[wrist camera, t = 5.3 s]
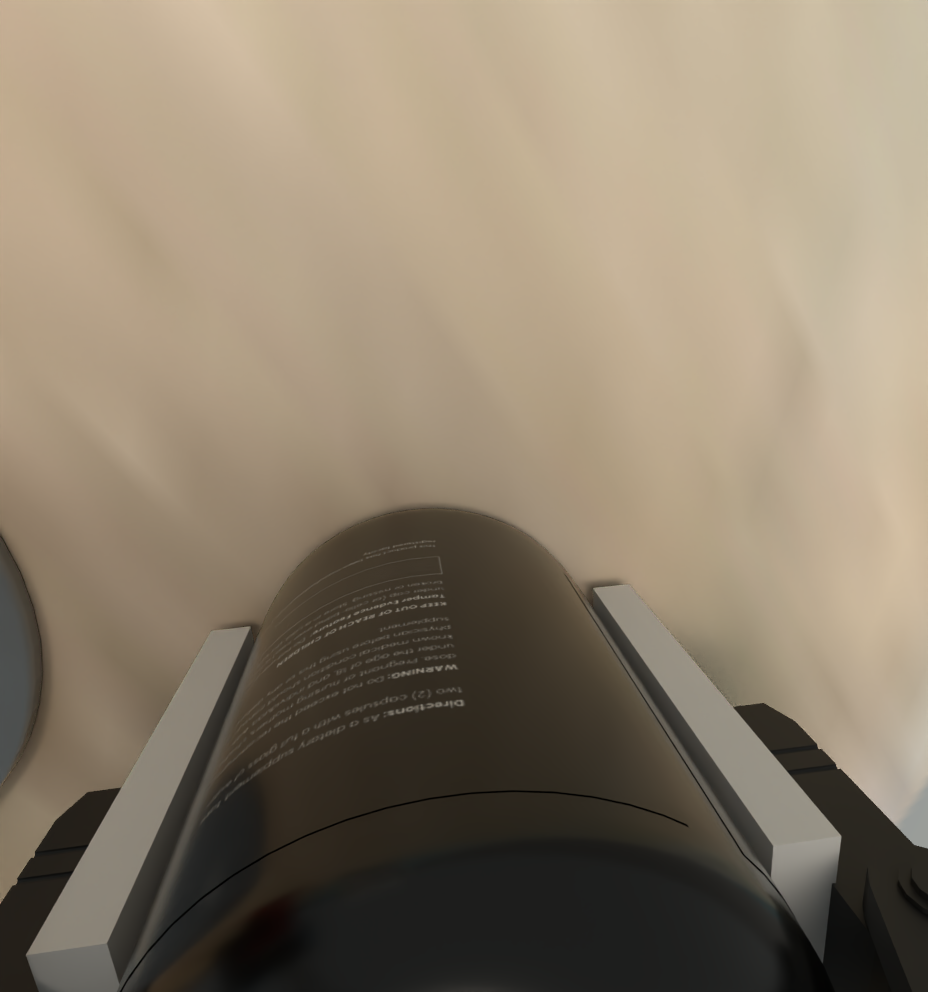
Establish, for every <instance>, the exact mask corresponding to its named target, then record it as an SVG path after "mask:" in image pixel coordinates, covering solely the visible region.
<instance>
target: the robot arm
mask: <svg viewBox="0 0 928 992" xmlns="http://www.w3.org/2000/svg"><path fill="white" fill-rule="evenodd" d="M593 609H594V611H595V612H596V614H597V615H598V617H599V618H600V620H601V621H602V623H603V624H604V626H605V627H606V629H607V630H608V632H609V633H610V635H611V636H612V638H613V640H614V641H615V643H616V644H617V646H618V647H619V649H620V650H621V652H622V653H623V655H624V656H625V658H626V659H627V661H628V662H629V664H630V665H631V667H632V668H633V670H634V671H635V673H636V674H637V676H638V677H639V679H640V680H641V682H642V683H643V685H644V686H645V688H646V689H647V691H648V693H649V694H650V696H651V697H652V699H653V700H654V702H655V703H656V705H657V706H658V708H659V709H660V711H661V712H662V714H663V715H664V717H665V718H666V720H667V721H668V723H669V724H670V726H671V727H672V729H673V730H674V732H675V733H676V735H677V736H678V738H679V739H680V741H681V743H682V744H683V746H684V747H685V749H686V750H687V752H688V753H689V755H690V756H691V758H692V759H693V761H694V762H695V764H696V765H697V767H698V768H699V770H700V771H701V773H702V774H703V776H704V777H705V779H706V780H707V782H708V783H709V785H710V786H711V788H712V789H713V791H714V792H715V794H716V796H717V797H718V799H719V800H720V802H721V803H722V805H723V806H724V808H725V809H726V811H727V812H728V814H729V815H730V817H731V818H732V820H733V821H734V823H735V824H736V826H737V827H738V829H739V830H740V832H741V833H742V835H743V836H744V838H745V839H746V841H747V843H748V844H749V846H750V847H751V849H752V850H753V852H754V853H755V855H756V856H757V858H758V859H759V861H760V862H761V864H762V865H763V867H764V868H765V870H766V871H767V873H768V874H769V876H770V877H771V879H772V881H773V882H774V884H775V885H776V887H777V888H778V890H779V891H780V893H781V895H782V896H783V898H784V899H785V901H786V903H787V904H788V906H789V907H790V909H791V911H792V912H793V914H794V916H795V918H796V920H797V921H798V923H799V925H800V926H801V928H802V929H803V931H804V933H805V934H806V936H807V938H808V939H809V941H810V942H811V944H812V946H813V948H814V949H815V951H816V953H817V955H818V956H819V958H820V960H821V962H822V963H823V965H824V967H825V969H826V971H827V974H828V976H829V978H830V981H831V983H832V985H833V988H834V990H835V992H928V849H927V848H923V847H919V846H915V845H914V844H912V842H911V841H910V840H909V839H908V838H906V836H905V835H904V834H903V833H902V832H901V831H900V830H899V829H898V828H897V827H896V826H895V825H894V824H893V823H892V822H891V821H890V820H889V819H888V817H887V816H886V815H885V814H884V813H883V812H882V811H881V810H880V809H879V808H878V807H877V806H876V805H875V804H874V803H873V802H872V801H871V800H870V799H869V798H868V797H867V796H866V795H865V794H864V793H863V792H862V790H861V789H860V788H859V787H858V786H857V785H856V784H855V783H854V782H853V781H852V780H851V779H850V778H849V777H848V776H847V775H846V774H845V773H844V772H843V771H842V770H841V769H837V767H836V763H835V762H834V761H833V760H832V759H831V758H830V757H829V756H828V755H827V754H826V753H825V752H824V751H823V750H822V749H818V747H817V744H816V743H815V742H814V741H813V740H812V739H811V738H810V736H809V735H808V734H807V733H806V732H805V731H804V730H803V729H802V728H801V727H800V726H799V725H798V724H797V723H796V722H795V721H794V720H792V719H790V718H788V717H787V716H785V715H783V714H782V713H780V712H778V711H776V710H775V709H773V708H771V707H769V706H768V705H766V704H764V703H760V704H752V705H745V706H737V707H732V706H731V704H730V703H729V702H728V701H727V700H726V698H725V697H724V696H723V695H722V694H721V693H720V691H719V690H718V689H717V688H716V687H715V685H714V684H713V683H712V682H711V681H710V679H709V678H708V677H707V676H706V675H705V674H704V672H703V671H702V670H701V669H700V668H699V666H698V665H697V664H696V663H695V662H694V660H693V659H692V658H691V657H690V656H689V655H688V653H687V652H686V651H685V650H684V649H683V647H682V646H681V645H680V644H679V643H678V641H677V640H676V639H675V638H674V637H673V636H672V634H671V633H670V632H669V631H668V630H667V628H666V627H665V626H664V625H663V624H662V622H661V621H660V620H659V619H658V618H657V617H656V615H655V614H654V613H653V612H652V611H651V609H650V608H649V607H648V606H647V605H646V603H645V602H644V601H643V600H642V599H641V598H640V596H639V595H638V594H637V593H636V592H635V590H634V589H633V588H632V587H631V586H630V584H624V585H616V586H607V587H598V588H593ZM253 646H254V640H253V635H252V630H251V626H249V627H240V628H231V629H222V630H213V631H211V632H210V634H209V635H208V637H207V639H206V641H205V642H204V644H203V646H202V648H201V649H200V651H199V653H198V655H197V656H196V658H195V660H194V662H193V663H192V665H191V667H190V669H189V670H188V672H187V674H186V676H185V677H184V679H183V681H182V683H181V684H180V686H179V688H178V690H177V691H176V693H175V695H174V697H173V698H172V700H171V702H170V704H169V705H168V707H167V709H166V711H165V712H164V714H163V716H162V718H161V719H160V721H159V723H158V725H157V726H156V728H155V730H154V732H153V733H152V735H151V737H150V739H149V740H148V742H147V744H146V746H145V747H144V749H143V751H142V753H141V754H140V756H139V758H138V760H137V761H136V763H135V765H134V767H133V768H132V770H131V772H130V774H129V775H128V777H127V779H126V781H125V782H124V784H123V786H122V788H116V789H108V790H100V791H93V792H87V793H86V794H85V795H84V796H83V797H82V798H81V799H79V800H78V801H77V802H76V803H75V804H74V805H73V806H72V807H70V808H69V809H68V810H67V811H66V812H65V813H64V814H63V815H61V816H60V817H59V818H58V819H57V820H56V821H55V822H54V824H53V825H52V827H51V828H50V830H49V832H48V833H47V835H46V836H45V838H44V839H43V841H42V842H41V844H40V845H39V847H38V848H37V850H36V851H35V857H34V858H31V859H30V860H29V862H28V863H27V865H26V866H25V868H24V869H23V871H22V872H21V874H20V875H19V877H18V878H17V880H18V881H17V884H16V885H13V886H12V887H11V889H10V890H9V892H8V893H7V895H6V896H5V898H4V899H3V901H2V902H1V904H0V992H117V990H118V987H119V985H120V982H121V980H122V977H123V975H124V972H125V970H126V967H127V965H128V962H129V960H130V957H131V954H132V952H133V949H134V947H135V944H136V942H137V939H138V937H139V934H140V932H141V929H142V926H143V924H144V921H145V919H146V916H147V914H148V911H149V909H150V906H151V904H152V901H153V899H154V896H155V894H156V891H157V889H158V886H159V883H160V881H161V878H162V876H163V873H164V871H165V868H166V866H167V863H168V861H169V858H170V856H171V853H172V851H173V848H174V845H175V843H176V840H177V838H178V835H179V833H180V830H181V828H182V825H183V823H184V820H185V818H186V815H187V813H188V810H189V807H190V805H191V802H192V800H193V797H194V795H195V792H196V790H197V787H198V785H199V782H200V780H201V777H202V775H203V772H204V770H205V767H206V764H207V762H208V759H209V757H210V754H211V752H212V749H213V747H214V744H215V742H216V739H217V737H218V734H219V732H220V729H221V726H222V724H223V721H224V719H225V716H226V714H227V711H228V709H229V706H230V704H231V701H232V699H233V696H234V694H235V691H236V688H237V686H238V683H239V681H240V678H241V676H242V673H243V671H244V668H245V666H246V663H247V661H248V658H249V656H250V653H251V651H252V648H253Z"/></svg>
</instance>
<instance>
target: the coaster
mask: <svg viewBox="0 0 928 992" xmlns="http://www.w3.org/2000/svg"><path fill="white" fill-rule="evenodd" d="M41 682H42V660H41V643H40V637H39V632H38V628H37V623H36V618H35V614H34V609H33V606H32V603H31V600H30V598H29V595H28V592H27V590H26V587H25V584H24V582H23V579H22V576H21V574H20V572H19V570H18V568H17V566H16V564H15V562H14V560H13V559H12V557H11V555H10V553H9V551H8V549H7V547H6V545H5V543H4V542H3V540H2V538H1V537H0V787H1V786H2V785H3V783H4V782H5V780H6V779H7V778H8V776H9V775H10V773H11V772H12V770H13V769H14V767H15V766H16V764H17V763H18V761H19V759H20V757H21V755H22V753H23V751H24V748H25V746H26V744H27V742H28V740H29V738H30V735H31V733H32V729H33V726H34V722H35V718H36V715H37V711H38V707H39V702H40V692H41Z"/></svg>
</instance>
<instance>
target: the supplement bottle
mask: <svg viewBox="0 0 928 992" xmlns="http://www.w3.org/2000/svg"><path fill="white" fill-rule="evenodd" d="M117 992H835V990H834V988H833V985H832V983H831V981H830V978H829V976H828V974H827V971H826V969H825V967H824V965H823V963H822V962H821V960H820V958H819V956H818V955H817V953H816V951H815V949H814V948H813V946H812V944H811V942H810V941H809V939H808V938H807V936H806V934H805V933H804V931H803V929H802V928H801V926H800V925H799V923H798V921H797V920H796V918H795V916H794V914H793V912H792V911H791V909H790V907H789V906H788V904H787V903H786V901H785V899H784V898H783V896H782V895H781V893H780V891H779V890H778V888H777V887H776V885H775V884H774V882H773V881H772V879H771V877H770V876H769V874H768V873H767V871H766V870H765V868H764V867H763V865H762V864H761V862H760V861H759V859H758V858H757V856H756V855H755V853H754V852H753V850H752V849H751V847H750V846H749V844H748V843H747V841H746V839H745V838H744V836H743V835H742V833H741V832H740V830H739V829H738V827H737V826H736V824H735V823H734V821H733V820H732V818H731V817H730V815H729V814H728V812H727V811H726V809H725V808H724V806H723V805H722V803H721V802H720V800H719V799H718V797H717V796H716V794H715V792H714V791H713V789H712V788H711V786H710V785H709V783H708V782H707V780H706V779H705V777H704V776H703V774H702V773H701V771H700V770H699V768H698V767H697V765H696V764H695V762H694V761H693V759H692V758H691V756H690V755H689V753H688V752H687V750H686V749H685V747H684V746H683V744H682V743H681V741H680V739H679V738H678V736H677V735H676V733H675V732H674V730H673V729H672V727H671V726H670V724H669V723H668V721H667V720H666V718H665V717H664V715H663V714H662V712H661V711H660V709H659V708H658V706H657V705H656V703H655V702H654V700H653V699H652V697H651V696H650V694H649V693H648V691H647V689H646V688H645V686H644V685H643V683H642V682H641V680H640V679H639V677H638V676H637V674H636V673H635V671H634V670H633V668H632V667H631V665H630V664H629V662H628V661H627V659H626V658H625V656H624V655H623V653H622V652H621V650H620V649H619V647H618V646H617V644H616V643H615V641H614V640H613V638H612V636H611V635H610V633H609V632H608V630H607V629H606V627H605V626H604V624H603V623H602V621H601V620H600V618H599V617H598V615H597V614H596V612H595V611H594V609H593V608H592V606H591V605H590V603H589V602H588V600H587V599H586V597H585V596H584V594H583V593H582V592H581V590H580V589H579V588H578V586H577V585H576V583H575V582H574V580H573V579H572V578H571V576H570V575H569V574H568V573H567V571H566V570H565V569H564V567H563V566H562V565H561V564H560V563H559V562H558V561H557V560H556V559H555V558H554V557H553V556H552V555H551V554H550V553H549V552H548V551H547V550H546V549H545V548H544V547H542V546H541V545H540V544H539V543H537V542H536V541H535V540H533V539H532V538H530V537H529V536H527V535H526V534H524V533H523V532H521V531H519V530H517V529H515V528H514V527H512V526H510V525H508V524H505V523H503V522H500V521H498V520H495V519H493V518H490V517H486V516H483V515H479V514H476V513H471V512H466V511H460V510H452V509H441V508H429V509H414V510H405V511H400V512H394V513H389V514H386V515H382V516H379V517H376V518H372V519H370V520H367V521H365V522H362V523H360V524H357V525H355V526H353V527H351V528H349V529H347V530H345V531H343V532H341V533H339V534H338V535H336V536H335V537H333V538H331V539H330V540H328V541H327V542H325V543H324V544H323V545H321V546H320V547H319V548H318V549H316V550H315V551H314V552H312V553H311V554H310V555H309V556H308V557H307V558H306V559H305V560H304V561H303V562H302V563H301V564H300V565H299V566H298V567H297V568H296V569H295V571H294V572H293V573H292V574H291V575H290V576H289V578H288V579H287V581H286V582H285V584H284V585H283V586H282V588H281V589H280V591H279V592H278V594H277V596H276V597H275V599H274V601H273V603H272V605H271V607H270V609H269V610H268V613H267V615H266V617H265V620H264V622H263V625H262V627H261V629H260V631H259V633H258V636H257V638H256V641H255V643H254V646H253V648H252V651H251V653H250V656H249V658H248V661H247V663H246V666H245V668H244V671H243V673H242V676H241V678H240V681H239V683H238V686H237V688H236V691H235V694H234V696H233V699H232V701H231V704H230V706H229V709H228V711H227V714H226V716H225V719H224V721H223V724H222V726H221V729H220V732H219V734H218V737H217V739H216V742H215V744H214V747H213V749H212V752H211V754H210V757H209V759H208V762H207V764H206V767H205V770H204V772H203V775H202V777H201V780H200V782H199V785H198V787H197V790H196V792H195V795H194V797H193V800H192V802H191V805H190V807H189V810H188V813H187V815H186V818H185V820H184V823H183V825H182V828H181V830H180V833H179V835H178V838H177V840H176V843H175V845H174V848H173V851H172V853H171V856H170V858H169V861H168V863H167V866H166V868H165V871H164V873H163V876H162V878H161V881H160V883H159V886H158V889H157V891H156V894H155V896H154V899H153V901H152V904H151V906H150V909H149V911H148V914H147V916H146V919H145V921H144V924H143V926H142V929H141V932H140V934H139V937H138V939H137V942H136V944H135V947H134V949H133V952H132V954H131V957H130V960H129V962H128V965H127V967H126V970H125V972H124V975H123V977H122V980H121V982H120V985H119V987H118V990H117Z"/></svg>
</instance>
